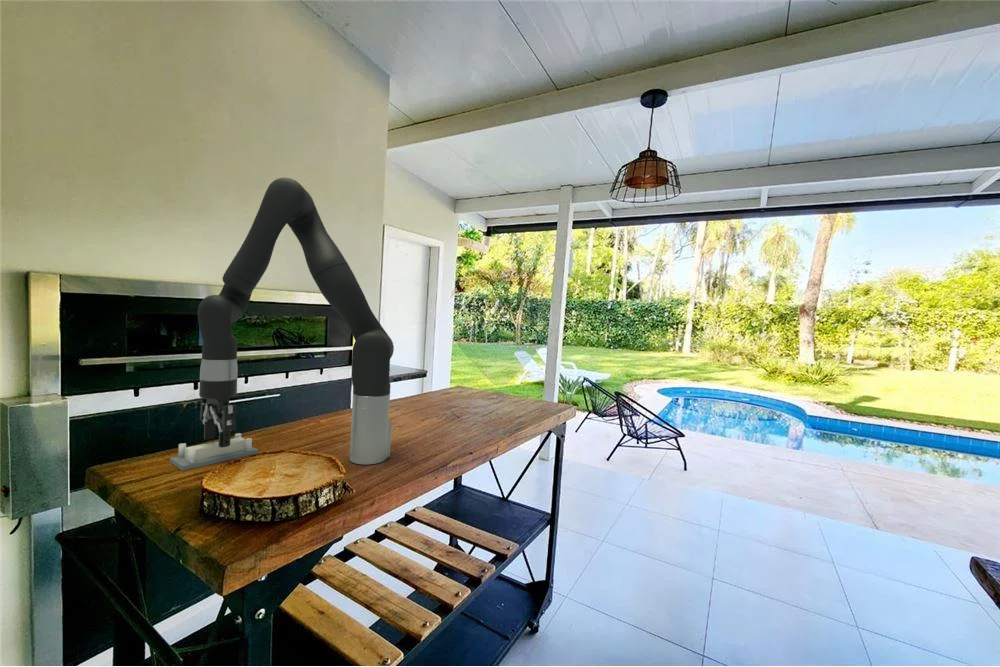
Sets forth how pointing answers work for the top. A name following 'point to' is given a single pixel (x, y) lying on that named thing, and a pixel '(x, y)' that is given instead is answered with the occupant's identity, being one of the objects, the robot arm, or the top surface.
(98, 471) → the top surface
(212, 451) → the clay strip
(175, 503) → the top surface
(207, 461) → the grey pegged tray
